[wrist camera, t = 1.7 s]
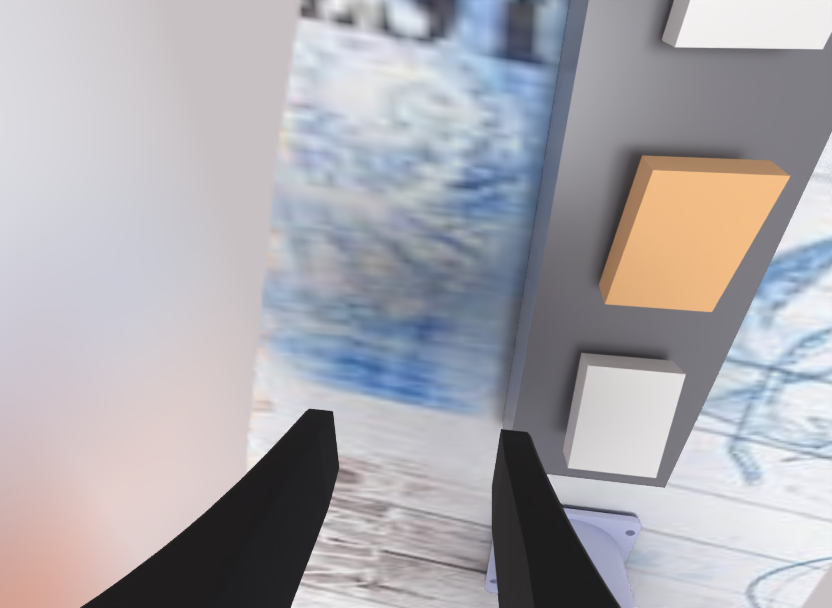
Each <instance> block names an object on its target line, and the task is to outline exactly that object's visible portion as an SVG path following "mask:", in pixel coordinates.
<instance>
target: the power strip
mask: <svg viewBox="0 0 832 608" xmlns="http://www.w3.org/2000/svg"><path fill="white" fill-rule="evenodd" d="M673 2H674V0H570V2H569V8H568V14H567V20H566V27H565V33H564V39H563V46H562V52H561V58H560V64H559V71H558V77H557V83H556V90H555V96H554V102H553V108H552V115H551V121H550V127H549V133H548V140H547V146H546V152H545V159H544V165H543V171H542V177H541V184H540V190H539V196H538V203H537V209H536V215H535V221H534V228H533V234H532V240H531V246H530V253H529V259H528V265H527V272H526V278H525V284H524V290H523V297H522V303H521V309H520V316H519V322H518V328H517V334H516V341H515V347H514V353H513V360H512V366H511V372H510V378H509V385H508V391H507V397H506V403H505V410H504V416H503V429H505V430H514V431H523V432H528V433H529V434H530V435H531V437H532V440H533V443H534V446H535V448H536V451H537V453H538V456H539V458H540V461H541V463H542V465H543V468H544V470H545V472H546V474H552V475H560V476H569V477H578V478H586V479H595V480H603V481H612V482H621V483H629V484H638V485H647V486H655V487H664V488H665V486H666V484H667V482H668V480H669V477H670V475H671V473H672V471H673V469H674V467H675V465H676V462H677V460H678V458H679V456H680V454H681V452H682V450H683V448H684V445H685V443H686V441H687V439H688V437H689V435H690V433H691V431H692V428H693V426H694V424H695V422H696V420H697V418H698V416H699V413H700V411H701V409H702V407H703V405H704V403H705V401H706V399H707V396H708V394H709V392H710V390H711V388H712V386H713V384H714V382H715V379H716V377H717V375H718V373H719V371H720V369H721V367H722V364H723V362H724V360H725V358H726V356H727V354H728V352H729V350H730V347H731V345H732V343H733V341H734V339H735V337H736V335H737V332H738V330H739V328H740V326H741V324H742V322H743V320H744V318H745V315H746V313H747V311H748V309H749V307H750V305H751V303H752V301H753V298H754V296H755V294H756V292H757V290H758V288H759V286H760V283H761V281H762V279H763V277H764V275H765V273H766V271H767V269H768V266H769V264H770V262H771V260H772V258H773V256H774V254H775V252H776V249H777V247H778V245H779V243H780V241H781V239H782V237H783V234H784V232H785V230H786V228H787V226H788V224H789V222H790V220H791V217H792V215H793V213H794V211H795V209H796V207H797V205H798V203H799V200H800V198H801V196H802V194H803V192H804V190H805V188H806V185H807V183H808V181H809V179H810V177H811V175H812V173H813V171H814V168H815V166H816V164H817V162H818V160H819V158H820V156H821V154H822V151H823V149H824V147H825V145H826V143H827V141H828V139H829V136H830V134H831V132H832V32H831V34H830V36H829V38H828V40H827V42H826V44H825V46H824V48H823V49H763V48H687V47H673V46H671V45H669V44H668V43H666V42H664V41H662V38H663V34H664V31H665V28H666V25H667V21H668V18H669V15H670V12H671V9H672V5H673ZM642 155H644V156H670V157H696V158H722V159H748V160H770V161H772V162H773V163H774V164H776V165H777V166H778V167H780V168H781V169H782V170H783V171H785V172H786V173H787V174H789V175H790V178H789V180H788V181H787V183H786V185H785V187H784V188H783V190H782V192H781V194H780V195H779V197H778V199H777V200H776V202H775V204H774V206H773V207H772V209H771V211H770V213H769V214H768V216H767V218H766V219H765V221H764V223H763V225H762V226H761V228H760V230H759V232H758V233H757V235H756V237H755V239H754V240H753V242H752V244H751V245H750V247H749V249H748V251H747V252H746V254H745V256H744V258H743V259H742V261H741V263H740V264H739V266H738V268H737V270H736V271H735V273H734V275H733V277H732V278H731V280H730V282H729V283H728V285H727V287H726V289H725V290H724V292H723V294H722V296H721V297H720V299H719V301H718V302H717V304H716V306H715V308H714V309H713V311H712V312H703V311H689V310H676V309H662V308H649V307H635V306H622V305H608V304H605V303H604V300H603V297H602V294H601V291H600V288H599V283H600V280H601V277H602V274H603V271H604V268H605V265H606V262H607V259H608V256H609V253H610V250H611V247H612V244H613V241H614V238H615V235H616V232H617V229H618V226H619V223H620V220H621V217H622V214H623V211H624V208H625V205H626V202H627V199H628V196H629V193H630V190H631V187H632V184H633V181H634V178H635V175H636V172H637V169H638V166H639V163H640V160H641V157H642ZM581 353H588V354H600V355H612V356H623V357H635V358H646V359H658V360H670V361H673V362H674V363H675V364H676V365H677V366H678V367H679V368H680V369H681V370H682V371H683V372H684V373H685V374H686V375H685V379H684V382H683V386H682V389H681V393H680V396H679V399H678V403H677V406H676V410H675V413H674V417H673V420H672V424H671V427H670V431H669V434H668V438H667V441H666V445H665V448H664V452H663V455H662V459H661V462H660V466H659V469H658V473H657V476H656V478H651V477H642V476H633V475H624V474H615V473H607V472H598V471H589V470H580V469H572V468H568V467H567V463H566V460H565V457H564V453H563V447H564V442H565V437H566V431H567V426H568V421H569V415H570V410H571V405H572V399H573V394H574V389H575V383H576V378H577V373H578V368H579V362H580V357H581Z"/></svg>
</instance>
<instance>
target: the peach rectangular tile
mask: <svg viewBox="0 0 832 608" xmlns="http://www.w3.org/2000/svg"><path fill="white" fill-rule="evenodd" d="M789 178H790V175H789V174H787V173H786V172H785V171H783V170H782V169H781V168H780V167H778V166H777V165H776V164H774V163H773V162H772V161H770V160H748V159H722V158H696V157H670V156H644V155H642V157H641V160H640V163H639V166H638V169H637V172H636V175H635V178H634V181H633V184H632V187H631V190H630V193H629V196H628V199H627V202H626V205H625V208H624V211H623V214H622V217H621V220H620V223H619V226H618V229H617V232H616V235H615V238H614V241H613V244H612V247H611V250H610V253H609V256H608V259H607V262H606V265H605V268H604V271H603V274H602V277H601V280H600V283H599V288H600V291H601V294H602V297H603V300H604V303H605V304H608V305H622V306H635V307H649V308H662V309H676V310H689V311H703V312H712V311H713V309H714V308H715V306H716V304H717V302H718V301H719V299H720V297H721V296H722V294H723V292H724V290H725V289H726V287H727V285H728V283H729V282H730V280H731V278H732V277H733V275H734V273H735V271H736V270H737V268H738V266H739V264H740V263H741V261H742V259H743V258H744V256H745V254H746V252H747V251H748V249H749V247H750V245H751V244H752V242H753V240H754V239H755V237H756V235H757V233H758V232H759V230H760V228H761V226H762V225H763V223H764V221H765V219H766V218H767V216H768V214H769V213H770V211H771V209H772V207H773V206H774V204H775V202H776V200H777V199H778V197H779V195H780V194H781V192H782V190H783V188H784V187H785V185H786V183H787V181H788V180H789Z"/></svg>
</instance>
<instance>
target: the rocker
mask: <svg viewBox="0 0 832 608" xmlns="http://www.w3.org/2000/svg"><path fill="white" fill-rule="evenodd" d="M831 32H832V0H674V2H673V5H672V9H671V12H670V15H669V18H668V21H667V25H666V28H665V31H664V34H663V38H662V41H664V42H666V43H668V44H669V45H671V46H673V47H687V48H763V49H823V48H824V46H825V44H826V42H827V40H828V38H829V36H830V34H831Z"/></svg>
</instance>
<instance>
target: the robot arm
mask: <svg viewBox="0 0 832 608" xmlns="http://www.w3.org/2000/svg"><path fill="white" fill-rule="evenodd" d="M338 470H339V461H338V452H337V443H336V434H335V425H334V416H333V411H326V410H316V409H308V410H307V411H306V412H305V413H304V414H303V415H302V416H301V417H300V418H299V419H298V421H297V422H296V423H295V424H294V425H293V426H292V427H291V428H290V429H289V430H288V431H287V433H286V434H285V435H284V436H283V437H282V438H281V439H280V440H279V441H278V442H277V443H276V444H275V445H274V446H273V447H272V448H271V450H270V451H269V452H268V453H267V454H266V455H265V456H264V457H263V458H262V459H261V460H260V461H259V462H258V463H257V464H256V465H255V466H254V467H253V468H252V469H251V470H250V471H249V472H248V473H247V474H246V475H245V476H244V477H243V478H242V479H241V480H240V481H239V482H238V483H237V484H236V485H234V486H233V487H232V488H231V489H230V490H229V491H228V492H227V493H226V494H225V495H224V496H223V497H221V498H220V499H219V500H218V501H217V502H216V503H215V504H214V505H213V506H212V507H211V508H210V509H208V510H207V511H206V512H205V513H204V514H203V515H202V516H200V517H199V518H198V519H197V520H196V521H195V522H193V523H192V524H191V525H190V526H189V527H188V528H186V529H185V530H184V531H183V532H182V533H180V534H179V535H178V536H177V537H176V538H174V539H173V540H172V541H170V542H169V543H168V544H167V545H166V546H164V547H163V548H162V549H161V550H159V551H158V552H157V553H155V554H154V555H153V556H151V557H150V558H149V559H147V560H146V561H145V562H144V563H142V564H141V565H140V566H138V567H137V568H136V569H134V570H133V571H132V572H130V573H129V574H128V575H126V576H125V577H124V578H122V579H121V580H119V581H118V582H117V583H115V584H114V585H113V586H111V587H110V588H108V589H107V590H106V591H104V592H103V593H101V594H100V595H99V596H97V597H95V598H94V599H92V600H91V601H89V602H88V603H86V604H85V605H83V606H82V607H80V608H291V605H292V602H293V600H294V597H295V594H296V592H297V589H298V587H299V584H300V581H301V579H302V576H303V574H304V571H305V568H306V566H307V563H308V561H309V558H310V555H311V553H312V550H313V548H314V545H315V542H316V540H317V537H318V535H319V532H320V529H321V527H322V524H323V521H324V519H325V516H326V513H327V511H328V508H329V504H330V501H331V497H332V493H333V490H334V486H335V482H336V478H337V474H338ZM641 527H642V526H641V523H640V520H639V519H638V518H636V517H633V516H625V515H617V514H609V513H601V512H592V511H584V510H576V509H568V508H563V507H562V505H561V503H560V501H559V500H558V498H557V496H556V493H555V491H554V489H553V487H552V485H551V483H550V481H549V479H548V476H547V474H546V472H545V470H544V468H543V465H542V463H541V461H540V458H539V456H538V453H537V451H536V448H535V446H534V443H533V440H532V437H531V435H530V434H529V433H528V432H523V431H514V430H505V429H501V433H500V439H499V445H498V451H497V458H496V464H495V470H494V477H493V483H492V536H493V540H492V546H491V551H490V557H489V563H488V568H487V574H486V580H485V589H486V590H487V591H488V592H490V593H496V594H498V600H499V608H637V607H636V604H635V600H634V597H633V593H632V590H631V586H630V583H629V579H628V576H627V572H626V569H625V563H626V560H627V558H628V556H629V554H630V552H631V550H632V547H633V545H634V543H635V541H636V539H637V537H638V534H639V532H640V530H641Z"/></svg>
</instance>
